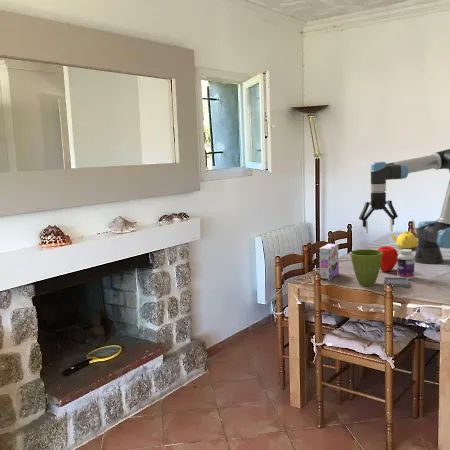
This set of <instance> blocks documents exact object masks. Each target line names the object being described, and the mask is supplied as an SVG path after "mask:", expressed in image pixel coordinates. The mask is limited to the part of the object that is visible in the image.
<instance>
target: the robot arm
mask: <svg viewBox="0 0 450 450" xmlns="http://www.w3.org/2000/svg"><path fill="white" fill-rule="evenodd" d="M433 169H434V170H437V171H438V170H448V173H449V174H450V148H448V149H444V150H440V151H436V152H432V154H430V155H425V156H421V157H420V156H418V157H413V158H409V159H404V160H403V159H402V160H399V161H398V160H397V161H393V162H388V163H386V162H385V161H373V162H371V163H370V201H364V206H363V208H362V210H361V212H360V215H359V216H358V219H359V220H360V221H362V227H363V233H364V234H368V230H369V227H368V226H369V225H368V223H369V222H368V219H369V217H371V215H372V213H373V212H374V211H379V210H381V211H382V210H383V211H384V213H385V214H387V216H388V217H389V218H388V232H391V233H392V232H393V226H395V220H396V218H398V217H399V215H398V214H397V212H396V210H395V209H396V208H394V205H393V201H392V200H391V199H388V200H387V195H386V194H387V192H386V191H387V180H402V179H407V177H408V176H409V174H412V173H417V172H422V171H428V170H433ZM386 205H387V206H388V208H389V209H388V208H387V207H386ZM369 207H370V208H369ZM417 239H418V243H417V249H416V251H415V254H414V262H415V263H419V264H428V265H431V264H432V265H434V264H442V263H443V262H444V257H443V253H442V251H441V249H442V248H443V249H448V250H449V249H450V179H449V181H448V185H447V188H446V192H445V197H444V199H443V203H442V208H441V212H440V215H439V218H437V219H436V220H425V221H419V222H418V224H417Z"/></svg>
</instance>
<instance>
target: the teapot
mask: <svg viewBox="0 0 450 450" xmlns="http://www.w3.org/2000/svg"><path fill="white" fill-rule="evenodd" d="M390 237H391V238H392V240H394V242H395V244H396V246H397V247H398V248H399V250H402V249H409V250H413V249H414V248H415V247H417V246H418V238H416V236H415V235H414V234H413V233H412V232H411V231H409V230H404V232H402V233H400V234H399V235H398V236H397V237H396V235H395V234H391V235H390Z"/></svg>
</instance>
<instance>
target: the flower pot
mask: <svg viewBox="0 0 450 450" xmlns="http://www.w3.org/2000/svg"><path fill="white" fill-rule="evenodd" d="M350 258H351V263H352V267H353V271H354V274H355V278H356V280H357V282H358V285H360V286H362V287H372V286H374V285H376V283H377V282H376V281H377V280H378V276H379V274H380V270H381V269H380V265H381V259H382V252H381V251H378V249H377V250H376V249H369V248H368V249H355V250H351V251H350Z"/></svg>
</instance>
